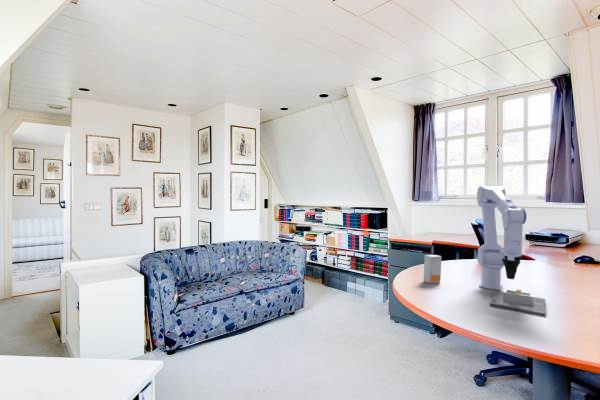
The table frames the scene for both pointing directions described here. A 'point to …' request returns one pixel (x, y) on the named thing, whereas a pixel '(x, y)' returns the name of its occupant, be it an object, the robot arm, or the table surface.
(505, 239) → the robot arm
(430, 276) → the skincare box
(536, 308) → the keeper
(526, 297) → the link
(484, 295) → the table surface
